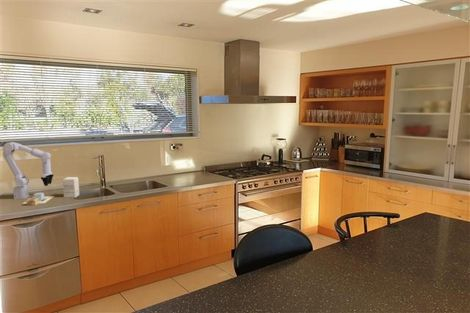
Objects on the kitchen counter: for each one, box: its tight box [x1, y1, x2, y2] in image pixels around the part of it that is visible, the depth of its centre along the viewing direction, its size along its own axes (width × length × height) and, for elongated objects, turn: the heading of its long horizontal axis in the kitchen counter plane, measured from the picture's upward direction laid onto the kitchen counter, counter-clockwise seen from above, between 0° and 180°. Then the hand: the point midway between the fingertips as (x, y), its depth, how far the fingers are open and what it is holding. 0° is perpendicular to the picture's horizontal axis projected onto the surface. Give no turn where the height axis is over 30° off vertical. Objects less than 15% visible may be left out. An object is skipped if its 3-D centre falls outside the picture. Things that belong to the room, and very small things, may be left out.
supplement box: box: [62, 176, 80, 198], centre depth 265 cm, size 9×9×15 cm
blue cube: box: [33, 192, 45, 201], centre depth 252 cm, size 5×5×5 cm
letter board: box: [22, 195, 55, 205], centre depth 254 cm, size 15×21×1 cm
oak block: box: [25, 197, 40, 206], centre depth 241 cm, size 6×5×4 cm
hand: (47, 184), depth 264 cm, fingers open, 7 cm apart
